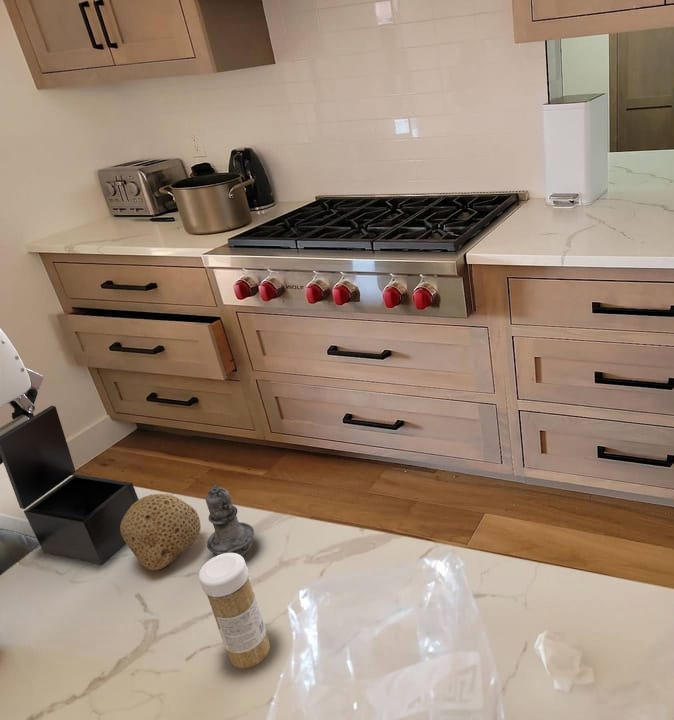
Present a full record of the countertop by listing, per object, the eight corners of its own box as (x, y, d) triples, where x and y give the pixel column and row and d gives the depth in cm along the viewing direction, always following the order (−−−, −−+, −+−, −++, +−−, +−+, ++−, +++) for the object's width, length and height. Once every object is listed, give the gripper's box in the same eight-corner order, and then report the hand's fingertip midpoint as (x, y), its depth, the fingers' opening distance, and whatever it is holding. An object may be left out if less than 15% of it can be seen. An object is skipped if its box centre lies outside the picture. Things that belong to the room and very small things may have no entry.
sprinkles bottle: (239, 642, 77) (207, 552, 71) (278, 640, 77) (250, 549, 71) (225, 677, 73) (190, 584, 67) (266, 675, 73) (235, 581, 67)
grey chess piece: (224, 581, 86) (198, 506, 81) (207, 558, 90) (181, 485, 85) (267, 557, 89) (245, 483, 84) (248, 536, 93) (226, 465, 88)
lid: (55, 406, 91) (27, 398, 92) (-2, 440, 84) (-32, 432, 85) (76, 472, 96) (48, 464, 97) (24, 509, 89) (-5, 500, 90)
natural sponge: (200, 527, 96) (180, 469, 92) (216, 562, 89) (195, 501, 85) (132, 555, 92) (107, 496, 88) (143, 594, 85) (117, 532, 81)
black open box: (150, 529, 97) (132, 482, 93) (105, 571, 90) (83, 522, 86) (94, 519, 100) (75, 473, 96) (46, 558, 93) (23, 511, 89)
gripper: (-4, 299, 91) (47, 415, 100) (-141, 356, 77) (-69, 485, 85) (37, 302, 89) (85, 420, 97) (-98, 361, 75) (-27, 493, 83)
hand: (13, 449), depth 91 cm, fingers closed on lid, 5 cm apart
